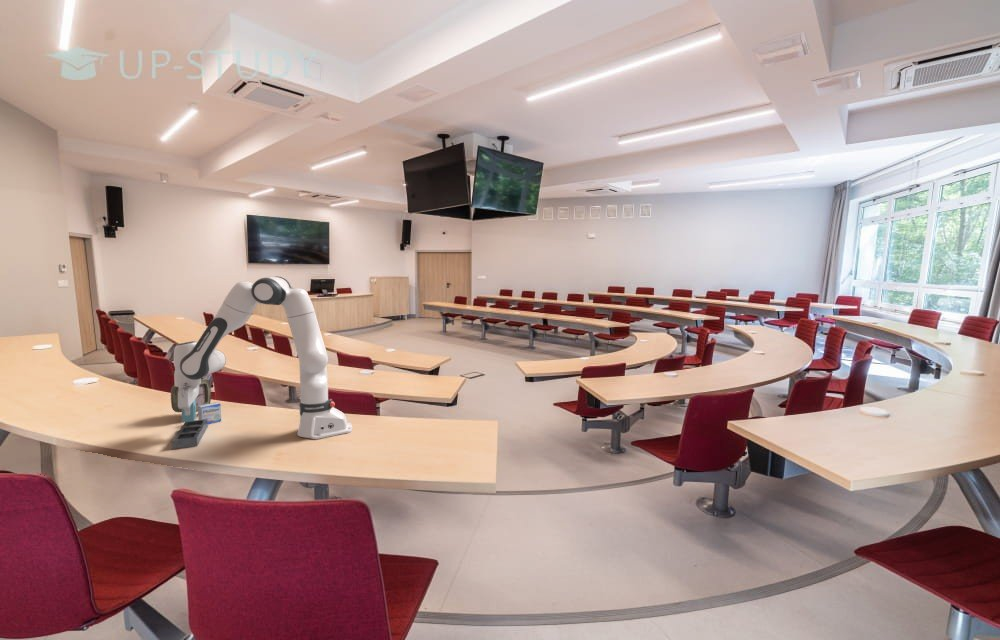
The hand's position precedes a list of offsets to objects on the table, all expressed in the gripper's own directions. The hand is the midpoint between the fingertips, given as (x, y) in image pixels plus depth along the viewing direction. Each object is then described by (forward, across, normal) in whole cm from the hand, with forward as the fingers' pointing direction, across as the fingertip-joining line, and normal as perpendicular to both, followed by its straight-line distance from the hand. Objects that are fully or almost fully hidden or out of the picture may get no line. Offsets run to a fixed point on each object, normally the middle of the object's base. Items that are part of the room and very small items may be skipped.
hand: (189, 413), depth 173 cm
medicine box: (+11, +18, -4) cm, 22 cm away
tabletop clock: (+11, +30, +4) cm, 32 cm away
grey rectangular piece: (+11, 0, 0) cm, 11 cm away
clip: (+3, 0, 0) cm, 3 cm away
